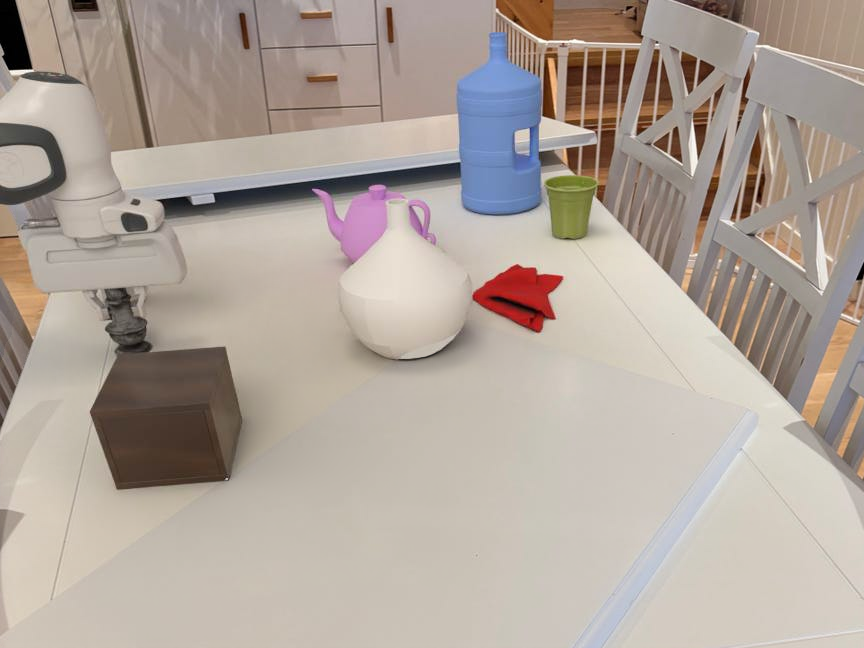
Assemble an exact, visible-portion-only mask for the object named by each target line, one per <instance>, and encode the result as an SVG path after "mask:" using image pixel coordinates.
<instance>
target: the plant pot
mask: <svg viewBox="0 0 864 648" xmlns="http://www.w3.org/2000/svg"><path fill="white" fill-rule="evenodd" d="M599 184H600V182H599V180H598V179H596V178H594V177H591V176H587V175H579V174H566V175H565V174H564V175H556V176H552V177H549V178H547V179H545V180H544V181H543V185H544V186H543V187H544V188H545V189H546V195H547V196H548V205H549V213H550V224H551V233H552V236H553V237H554V238H557V239H560V240H565V239H566V238H567V239H571V240H577V239H581V238H584V237H585V236H586V235H587V233H588V228H589V223H590V217H591V211H592V206H593V200H594V196H595V195H596V189H597V187H598V186H599Z"/></svg>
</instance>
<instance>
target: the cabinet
mask: <svg viewBox="0 0 864 648" xmlns="http://www.w3.org/2000/svg"><path fill="white" fill-rule="evenodd" d="M226 347H227V346H225V345H223V346H212V347H199V348H186V349H172V350H171V349H170V350H158V351H157V350H156V351H148V352H143V353H130V354H118V355H116V358H115V360H114V361H113V363H112V366H111V368H110V369H109V372H108V374H107V376H106V378H105V379H104V382H103V384H102V386H101V388H100V389H99V391H98V393H97V396H96V398H95V400H94V402H93V403H92V406H91V408H90V410H89V415H90V418H91V420H92V424H93V425H94V429H95V432H96V434H97V437H98V440H99V443H100V446H101V449H102V452H103V455H104V457H105V461H106V463H107V465H108V469H109V471H110V474H111V477H112V480H113V483H114V485H115V488H116V490H125V489H137V488H150V487H163V486H174V485H188V484H199V483H200V484H201V483H212V482H213V483H214V482H224V480H225V479H226V478H228V477H229V476H231V473H232V467H233V463H234V458H235V454H236V449H237V445H238V441H239V437H240V436H239V435H240V431H241V428H242V422H243V417H242V416H243V415H242V412H241V409H240V408H241V407H240V403H239V399H238V394H237V391H236V387H235V383H234V377H233V373H232V369H231V365H230V360H229V356H228V351H227V348H226ZM229 478H230V477H229Z"/></svg>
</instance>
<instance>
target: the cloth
mask: <svg viewBox="0 0 864 648" xmlns="http://www.w3.org/2000/svg"><path fill="white" fill-rule="evenodd" d="M563 279H564V276H563V275H559V274H549V273H541V274H538V270H537V267H535V266H533V267H532V266H531V267H528V266H527V267H523V266H522V265H520V264H518V263H516V264H514V265H511V266H510V267H508V268H507V269H506V270H505V271H503V272H499V273H498V274H497V275H496V276H495V277H493V278H491V279H489V280H487V281H486V282H484V284H483V285H482V286H481V287H479V288H478V289H476V290H475V291H473V292H472V300H474V301H475V302H477V303H478V304H480V305H482V306H483V307H485V308H487V309H489V310H491V311H493V312H495V313H497V314H500V315H502V316H505V317H507V318H509V319H510V320H512V321H514V322H517V323H518V324H521V325H523V326H524V327H527V328H529V329H531V330H533V331H535V332H541V331H542V329H543V325H544V318H545V317H546V318H548V319H552V320H556V315H555V313H554V309H553V307H552V305H551V302H550V299H549V295H548V293H550V292H552V291H554V290H555V289H556V288H557V287H558V286H559V284H561V282H562V281H563ZM544 316H545V317H544Z"/></svg>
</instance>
